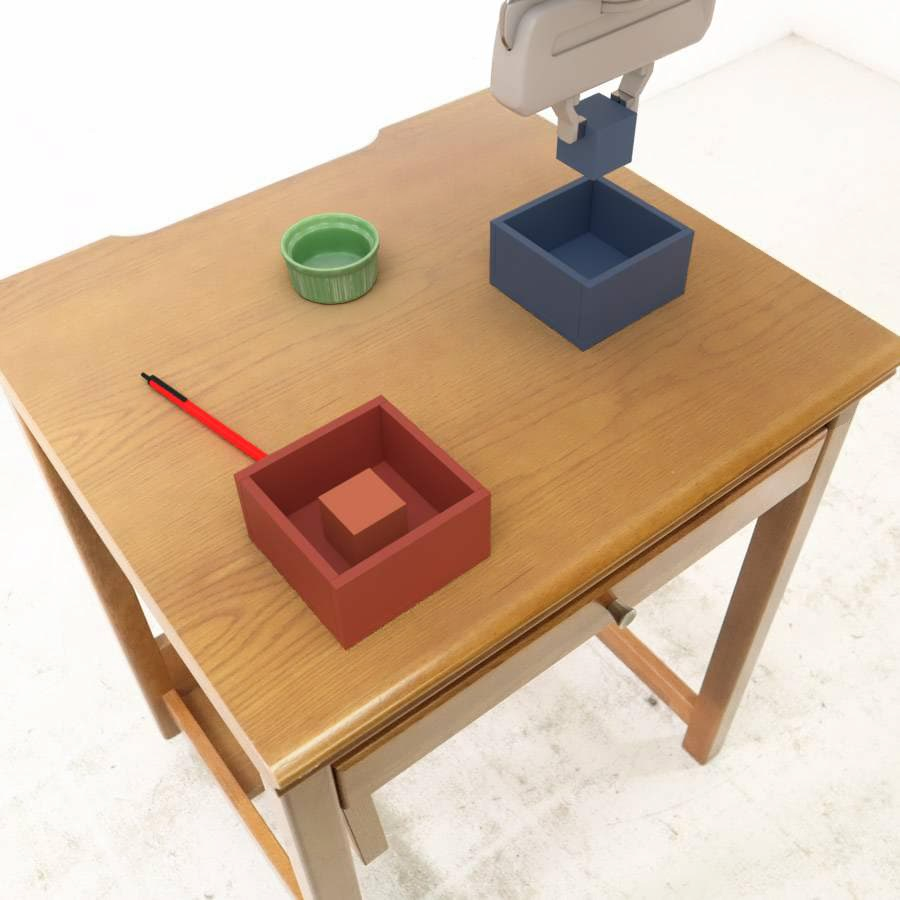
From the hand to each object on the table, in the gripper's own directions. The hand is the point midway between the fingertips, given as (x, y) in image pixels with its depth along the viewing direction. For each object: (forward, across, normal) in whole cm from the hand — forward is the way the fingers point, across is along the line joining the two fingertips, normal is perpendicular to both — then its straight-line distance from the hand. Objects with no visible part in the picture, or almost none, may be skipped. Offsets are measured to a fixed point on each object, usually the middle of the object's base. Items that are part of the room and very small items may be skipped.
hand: (597, 126), depth 85 cm
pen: (+17, -35, +6) cm, 39 cm away
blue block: (+3, 0, 0) cm, 3 cm away
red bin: (+17, -32, -11) cm, 38 cm away
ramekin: (+17, -16, +16) cm, 29 cm away
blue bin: (+17, +1, 0) cm, 17 cm away
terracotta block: (+16, -32, -12) cm, 38 cm away
